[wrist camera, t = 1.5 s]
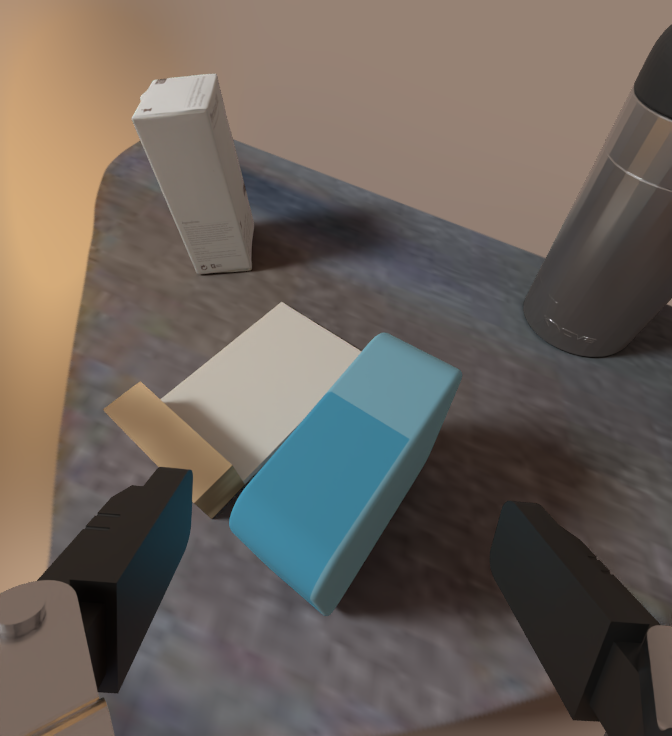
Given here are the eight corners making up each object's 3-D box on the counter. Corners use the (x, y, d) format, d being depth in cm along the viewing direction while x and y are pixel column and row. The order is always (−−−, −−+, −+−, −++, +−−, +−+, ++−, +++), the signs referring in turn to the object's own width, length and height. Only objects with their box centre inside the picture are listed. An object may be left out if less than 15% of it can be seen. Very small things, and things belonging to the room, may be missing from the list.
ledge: (159, 406, 31) (140, 381, 28) (245, 484, 27) (232, 465, 24) (127, 432, 30) (102, 409, 27) (211, 519, 26) (194, 502, 23)
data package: (375, 426, 30) (388, 318, 20) (428, 459, 28) (470, 358, 18) (270, 569, 24) (216, 517, 14) (328, 620, 22) (313, 600, 13)
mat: (282, 306, 37) (281, 302, 37) (366, 358, 33) (366, 354, 33) (159, 406, 31) (156, 402, 31) (245, 484, 27) (243, 481, 27)
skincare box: (252, 272, 40) (211, 110, 28) (193, 276, 40) (126, 116, 28) (254, 223, 45) (220, 68, 33) (202, 227, 45) (148, 73, 33)
